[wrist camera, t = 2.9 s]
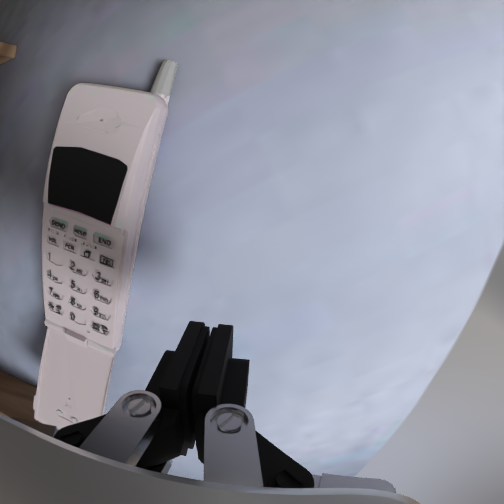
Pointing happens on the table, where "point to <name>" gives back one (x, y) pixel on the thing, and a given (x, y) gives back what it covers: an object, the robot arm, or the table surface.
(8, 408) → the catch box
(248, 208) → the table surface
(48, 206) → the mobile phone
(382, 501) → the robot arm
